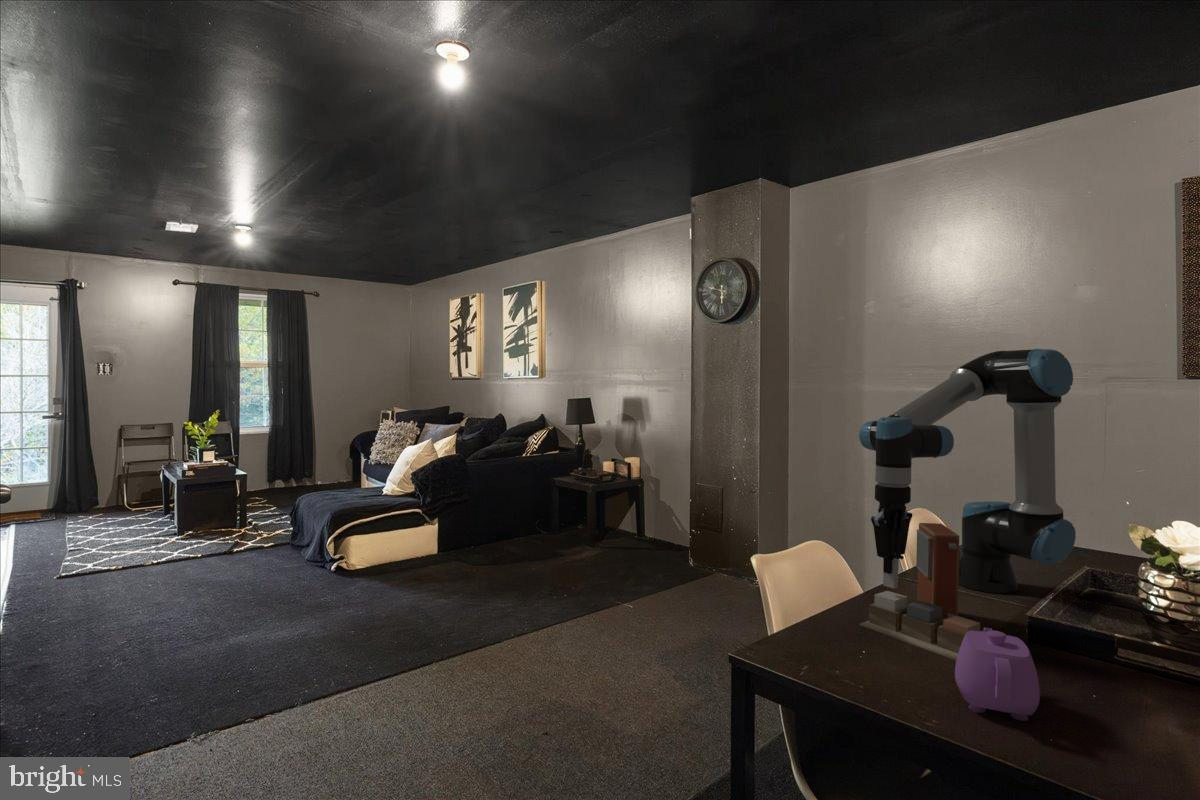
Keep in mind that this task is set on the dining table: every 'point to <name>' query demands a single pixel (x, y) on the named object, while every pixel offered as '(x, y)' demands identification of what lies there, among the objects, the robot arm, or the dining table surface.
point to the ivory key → (890, 601)
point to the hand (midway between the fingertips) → (890, 586)
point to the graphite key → (924, 611)
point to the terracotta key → (960, 625)
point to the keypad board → (915, 631)
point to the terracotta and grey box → (938, 567)
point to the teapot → (997, 674)
